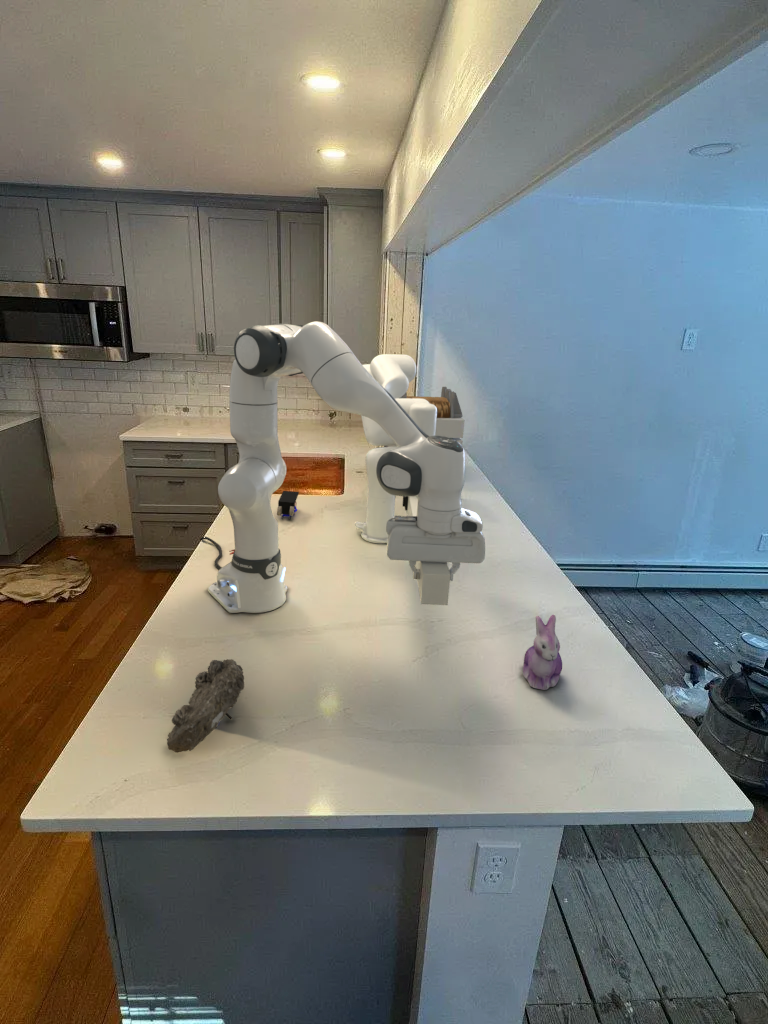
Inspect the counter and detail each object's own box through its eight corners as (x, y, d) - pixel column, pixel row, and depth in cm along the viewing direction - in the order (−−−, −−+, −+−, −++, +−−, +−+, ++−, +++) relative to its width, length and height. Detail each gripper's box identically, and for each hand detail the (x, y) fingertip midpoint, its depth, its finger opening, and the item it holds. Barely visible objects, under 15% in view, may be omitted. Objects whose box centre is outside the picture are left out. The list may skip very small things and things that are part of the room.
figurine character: (294, 525, 207) (299, 507, 220) (294, 506, 203) (299, 489, 217) (276, 524, 206) (282, 506, 220) (275, 506, 203) (281, 489, 216)
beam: (405, 506, 170) (407, 485, 168) (423, 507, 171) (425, 485, 168) (420, 604, 114) (423, 573, 112) (447, 605, 114) (450, 574, 112)
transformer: (382, 463, 289) (386, 382, 275) (445, 464, 293) (451, 384, 279) (390, 482, 257) (394, 392, 243) (460, 483, 261) (468, 394, 247)
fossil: (192, 660, 117) (244, 628, 112) (224, 691, 120) (276, 661, 115) (142, 746, 98) (202, 712, 93) (182, 779, 101) (242, 748, 96)
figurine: (541, 697, 118) (551, 634, 112) (509, 670, 126) (518, 610, 121) (575, 685, 122) (586, 624, 117) (542, 660, 130) (551, 602, 125)
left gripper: (387, 520, 111) (383, 583, 116) (490, 525, 112) (482, 587, 117) (386, 509, 117) (383, 570, 122) (484, 514, 118) (477, 574, 122)
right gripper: (390, 450, 154) (387, 512, 161) (453, 452, 155) (447, 515, 161) (389, 443, 161) (386, 503, 168) (449, 446, 162) (444, 506, 168)
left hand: (432, 578), depth 119 cm, fingers closed on beam, 5 cm apart
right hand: (416, 508), depth 164 cm, fingers closed on beam, 5 cm apart
